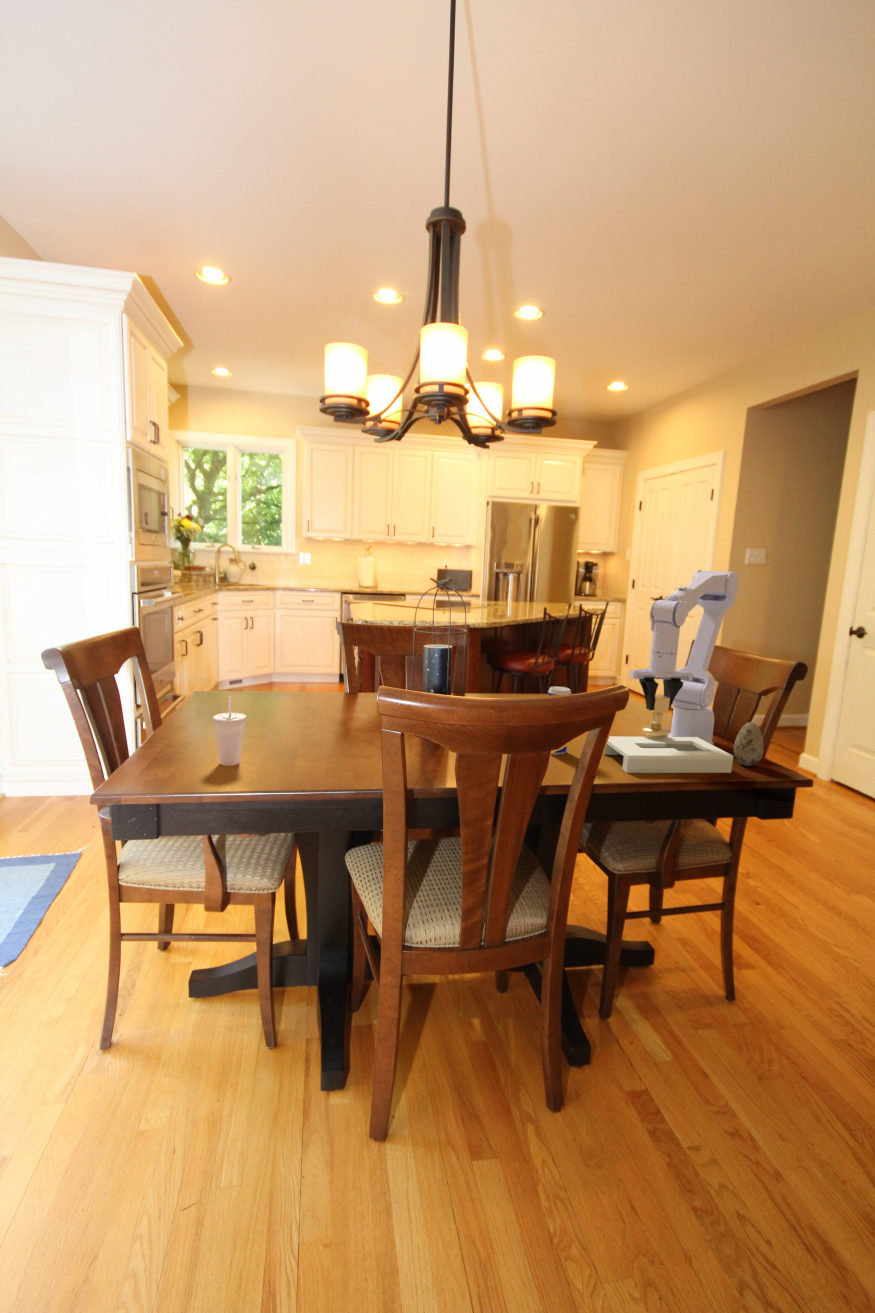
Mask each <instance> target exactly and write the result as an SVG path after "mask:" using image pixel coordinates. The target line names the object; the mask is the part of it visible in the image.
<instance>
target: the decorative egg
mask: <svg viewBox="0 0 875 1313" xmlns="http://www.w3.org/2000/svg"><path fill="white" fill-rule="evenodd" d="M764 747H765V746H764V739H763V734H762V732H761V729H760V727H759V725H757V724H756V723H755V722H752V721H749V722H746V723H745V724H744V725H743V726H742V727H741V729H740V730H739V731H738V734H737V735H736V738H735V740H734V743H733V756H734V757H735V759H736V761H737V762H738V763H739V764H741V765H743V766H747V767H750V766H754V765H756V764H758V763H759V762H760V761H761V759H762V757H763V754H764Z"/></svg>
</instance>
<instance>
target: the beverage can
mask: <svg viewBox="0 0 875 1313" xmlns="http://www.w3.org/2000/svg"><path fill="white" fill-rule="evenodd" d="M547 693H548V694H547V696H548V695H568V694H571V695H572V691H571V689H570V688H569V687H566V686H550V687H549V689H548V692H547ZM567 749H568V745H567V746H566V747H564V748H563V749H561V750H559V751H556V752H554V753H553V754H552V755H553V756H555V755H556V756H559V755H560V756H562V755H564V754H565V753H566V752H567ZM561 754H562V755H561Z"/></svg>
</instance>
